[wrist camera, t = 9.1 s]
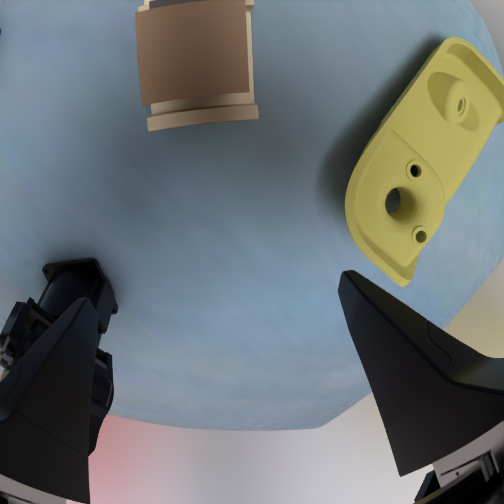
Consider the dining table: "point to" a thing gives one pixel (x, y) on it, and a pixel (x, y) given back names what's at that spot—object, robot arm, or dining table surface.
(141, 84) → the walnut finger
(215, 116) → the rail
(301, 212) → the dining table surface
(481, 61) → the plastic component
